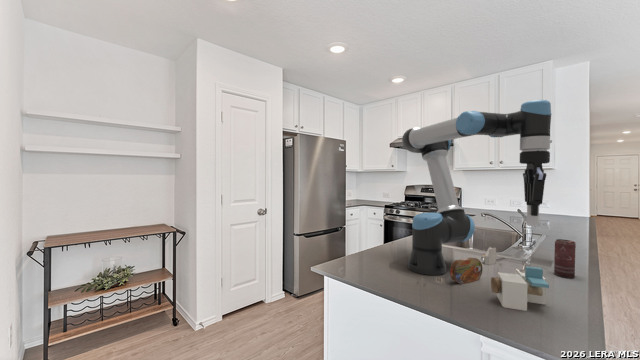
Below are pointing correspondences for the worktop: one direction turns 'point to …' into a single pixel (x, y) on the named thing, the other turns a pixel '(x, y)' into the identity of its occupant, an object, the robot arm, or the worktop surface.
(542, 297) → the block
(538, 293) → the pin
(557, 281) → the worktop surface
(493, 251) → the architectural model
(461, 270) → the tin
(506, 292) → the cream block
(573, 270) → the can
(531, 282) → the teal toy chair
